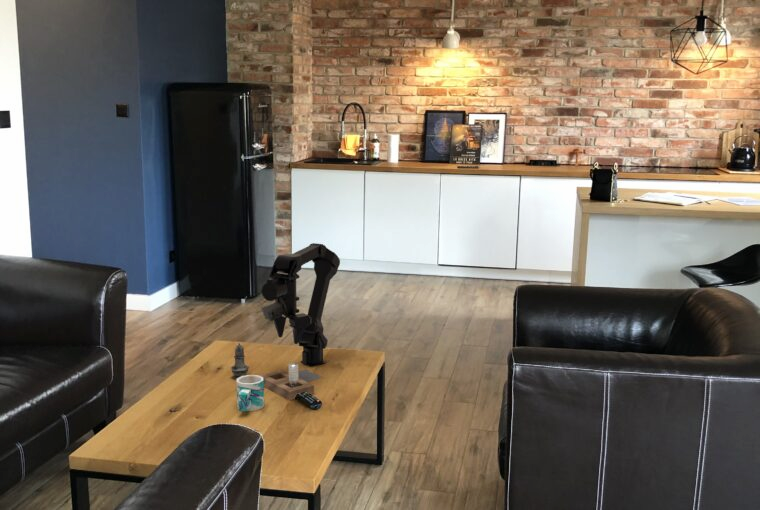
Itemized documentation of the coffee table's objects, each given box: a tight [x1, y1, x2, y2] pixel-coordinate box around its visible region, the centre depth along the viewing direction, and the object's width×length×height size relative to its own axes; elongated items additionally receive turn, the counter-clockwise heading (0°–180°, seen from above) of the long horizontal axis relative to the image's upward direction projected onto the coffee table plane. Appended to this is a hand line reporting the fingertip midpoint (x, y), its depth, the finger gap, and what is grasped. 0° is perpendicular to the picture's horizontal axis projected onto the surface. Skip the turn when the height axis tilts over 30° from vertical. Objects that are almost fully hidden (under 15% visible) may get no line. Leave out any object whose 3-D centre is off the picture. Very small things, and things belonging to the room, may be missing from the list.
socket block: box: [258, 369, 315, 401], centre depth 255 cm, size 18×9×3 cm, turn 40°
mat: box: [298, 368, 323, 383], centre depth 267 cm, size 10×10×1 cm
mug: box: [236, 374, 265, 412], centre depth 240 cm, size 8×12×8 cm
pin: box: [288, 362, 299, 388], centre depth 251 cm, size 3×3×10 cm
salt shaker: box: [230, 342, 250, 381], centre depth 264 cm, size 6×6×12 cm
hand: (288, 340), depth 264 cm, fingers open, 9 cm apart
